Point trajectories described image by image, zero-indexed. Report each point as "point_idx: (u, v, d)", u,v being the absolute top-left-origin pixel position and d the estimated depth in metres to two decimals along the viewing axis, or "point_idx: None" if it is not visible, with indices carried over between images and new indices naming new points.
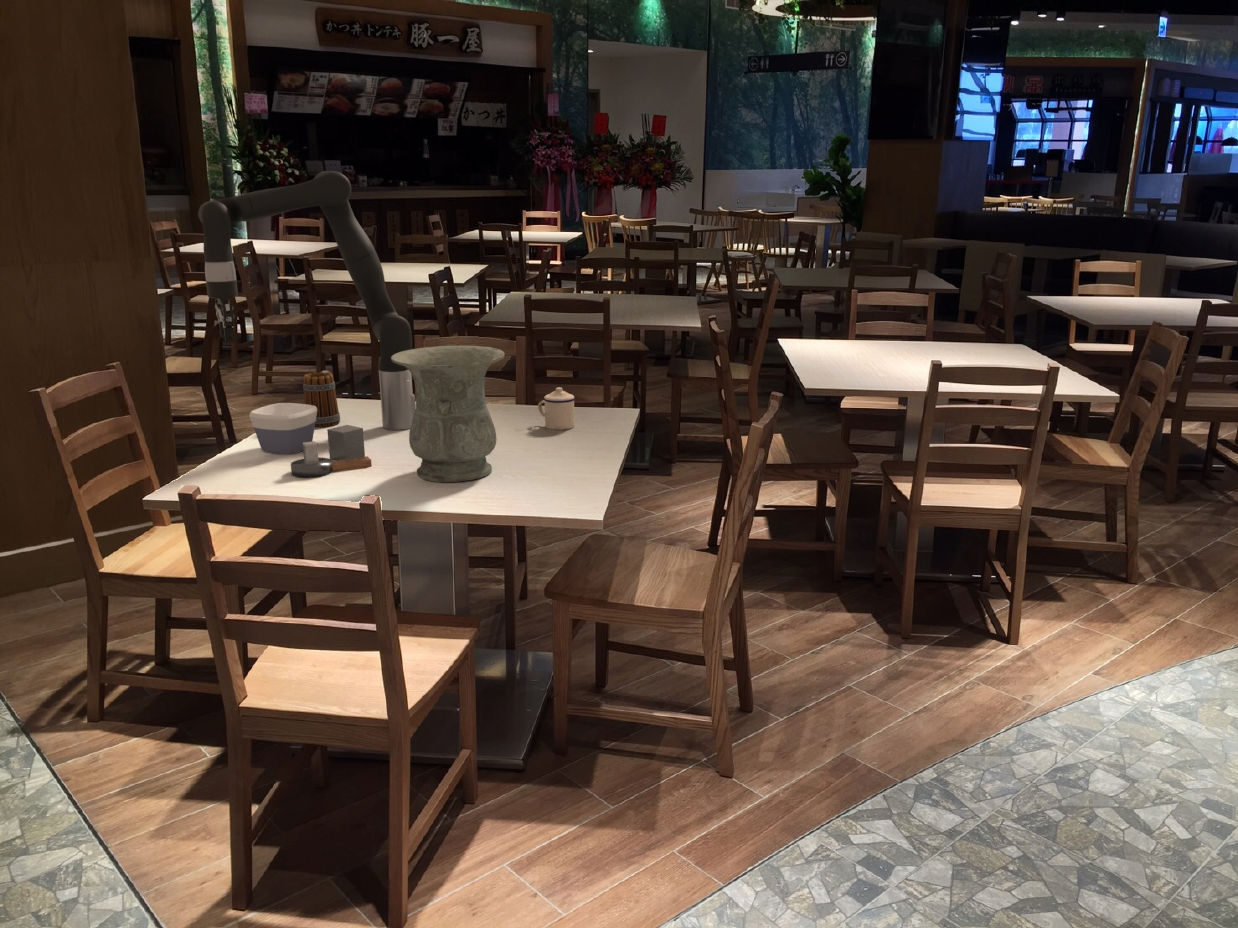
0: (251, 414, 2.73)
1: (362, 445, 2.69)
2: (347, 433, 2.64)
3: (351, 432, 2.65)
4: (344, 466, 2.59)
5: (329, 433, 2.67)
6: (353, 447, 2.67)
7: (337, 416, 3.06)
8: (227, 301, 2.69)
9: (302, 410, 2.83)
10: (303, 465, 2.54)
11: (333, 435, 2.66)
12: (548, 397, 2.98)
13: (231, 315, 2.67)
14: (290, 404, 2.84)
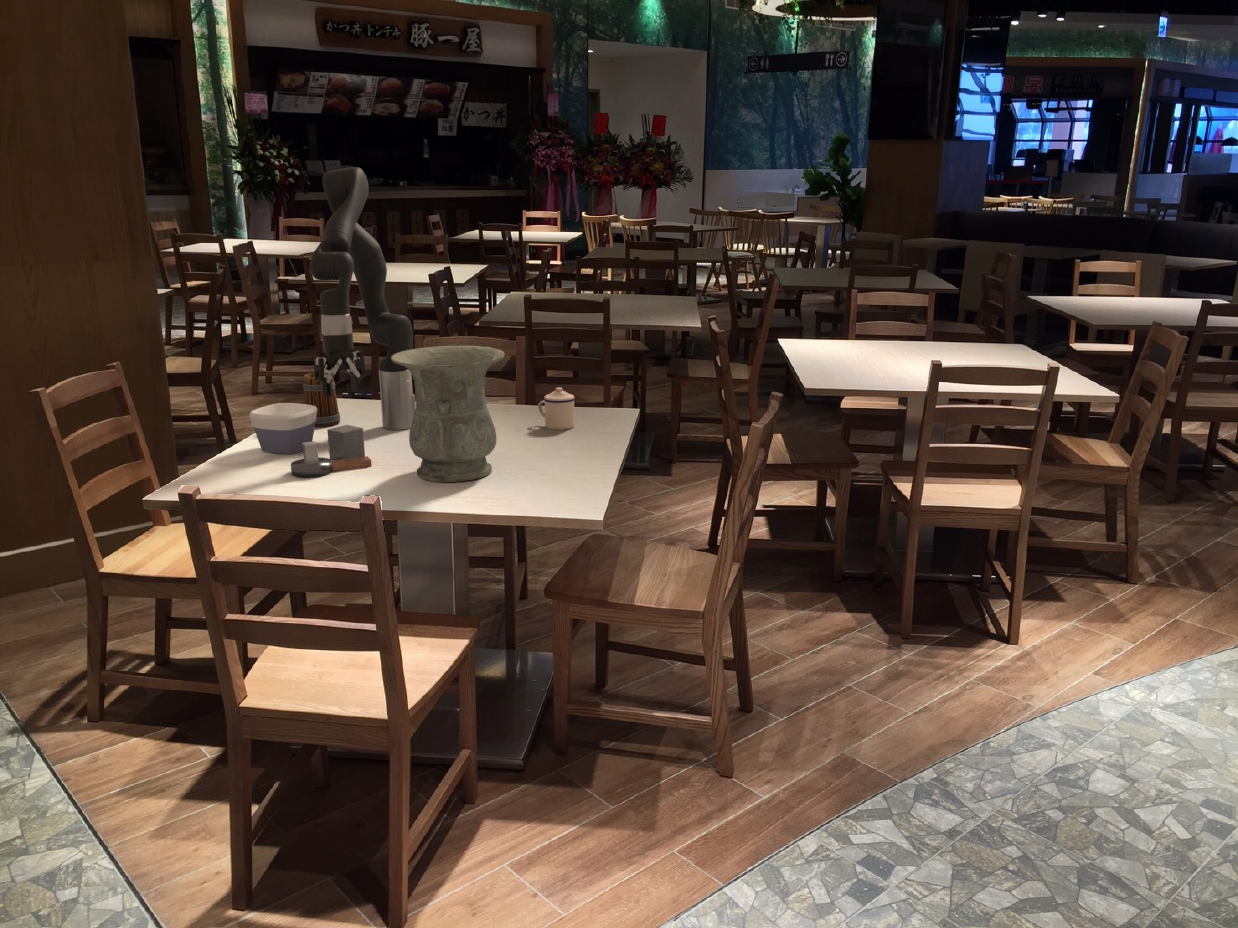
0: (251, 414, 2.73)
1: (362, 445, 2.69)
2: (347, 433, 2.64)
3: (351, 432, 2.65)
4: (344, 466, 2.59)
5: (329, 433, 2.67)
6: (353, 447, 2.67)
7: (337, 416, 3.06)
8: None
9: (302, 410, 2.83)
10: (303, 465, 2.54)
11: (333, 435, 2.66)
12: (548, 397, 2.98)
13: None
14: (290, 404, 2.84)
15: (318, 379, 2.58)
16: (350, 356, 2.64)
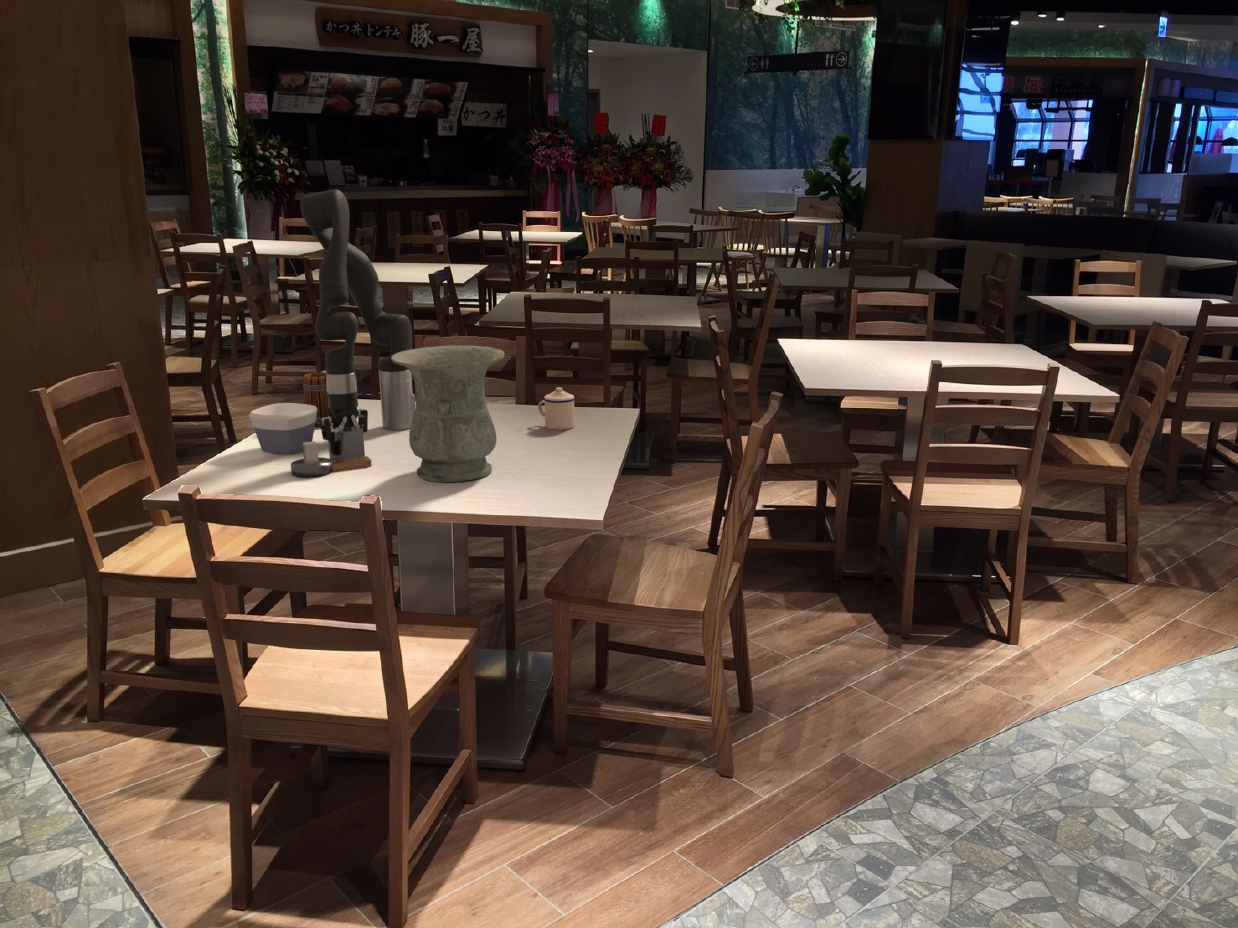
0: (251, 414, 2.73)
1: (362, 445, 2.69)
2: (347, 433, 2.64)
3: (351, 432, 2.65)
4: (344, 466, 2.59)
5: None
6: (353, 447, 2.67)
7: None
8: None
9: (302, 410, 2.83)
10: (303, 465, 2.54)
11: None
12: (548, 397, 2.98)
13: None
14: (290, 404, 2.84)
15: (326, 439, 2.63)
16: (355, 413, 2.68)
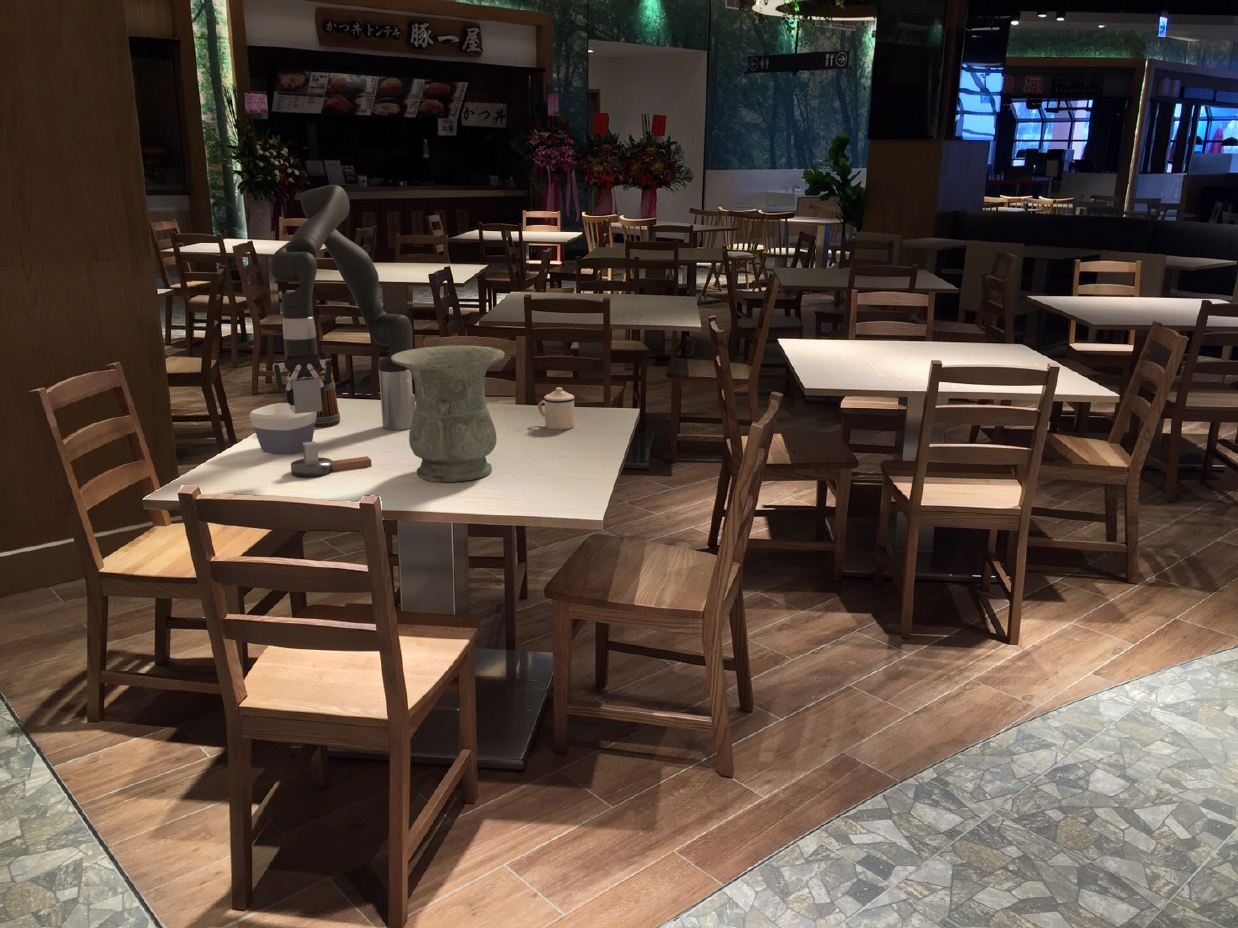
0: (251, 414, 2.73)
1: (318, 397, 2.50)
2: (298, 382, 2.47)
3: (303, 382, 2.48)
4: (344, 466, 2.59)
5: None
6: (306, 398, 2.49)
7: (337, 416, 3.06)
8: None
9: None
10: (303, 465, 2.54)
11: None
12: (548, 397, 2.98)
13: None
14: None
15: (277, 386, 2.48)
16: (314, 362, 2.50)
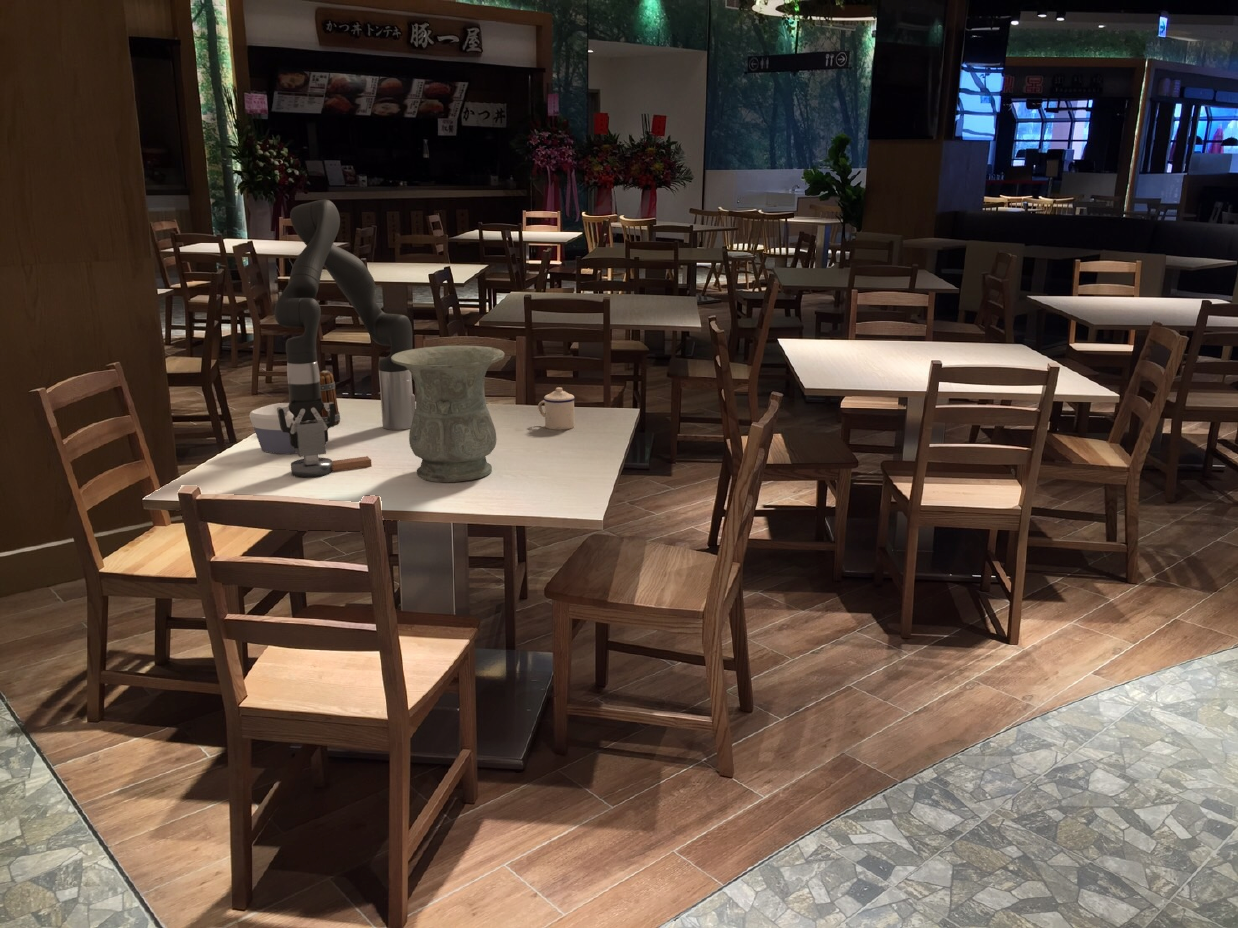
0: (251, 414, 2.73)
1: (322, 440, 2.53)
2: (302, 426, 2.50)
3: (308, 425, 2.51)
4: (344, 466, 2.59)
5: None
6: (310, 442, 2.52)
7: (337, 416, 3.06)
8: None
9: None
10: (303, 465, 2.54)
11: None
12: (548, 397, 2.98)
13: None
14: None
15: (282, 430, 2.51)
16: (318, 405, 2.53)
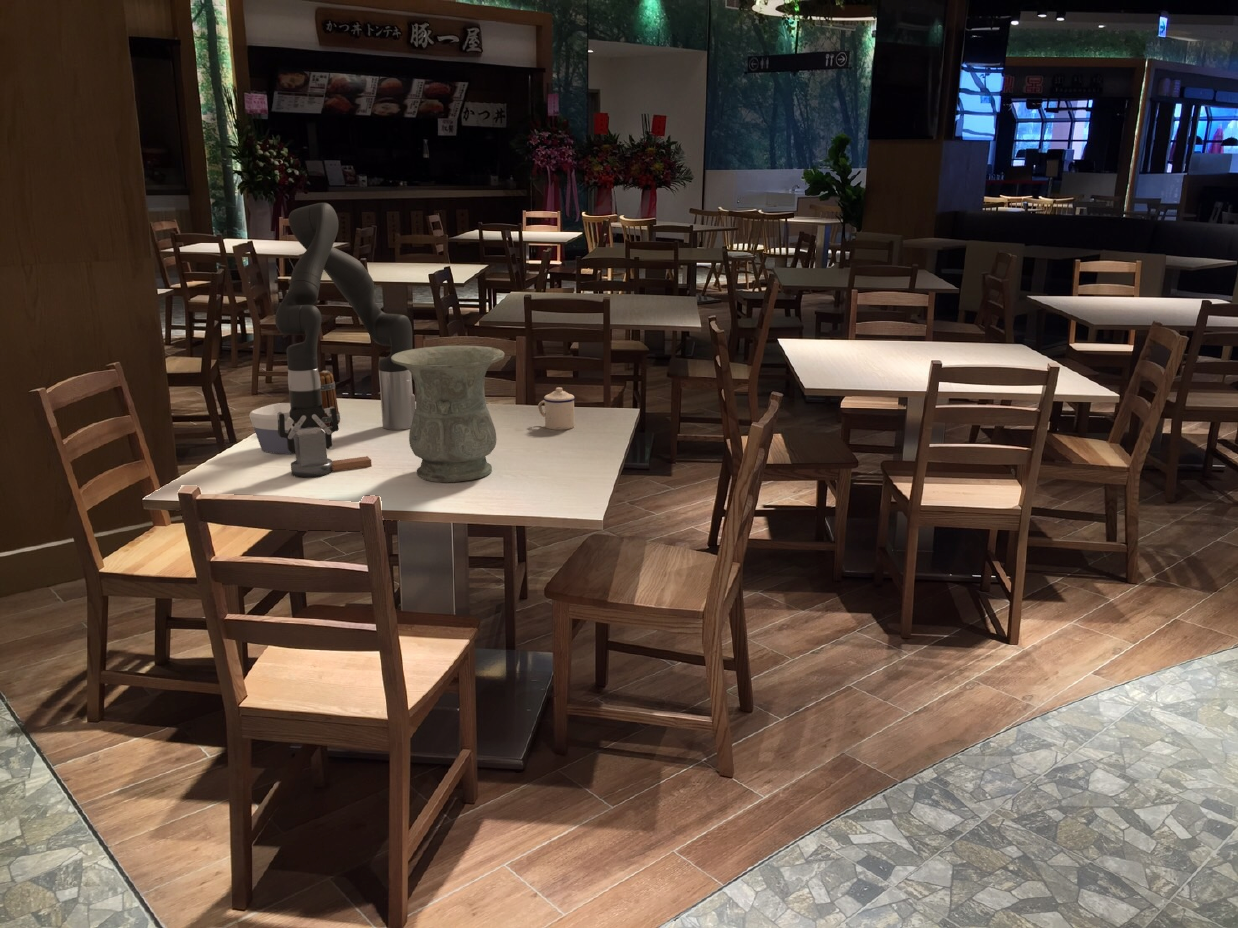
0: (251, 414, 2.73)
1: (324, 450, 2.54)
2: (304, 436, 2.51)
3: (309, 436, 2.51)
4: (344, 466, 2.59)
5: None
6: (312, 452, 2.53)
7: (337, 416, 3.06)
8: None
9: None
10: None
11: (295, 437, 2.54)
12: (548, 397, 2.98)
13: None
14: None
15: (279, 434, 2.51)
16: (319, 412, 2.53)
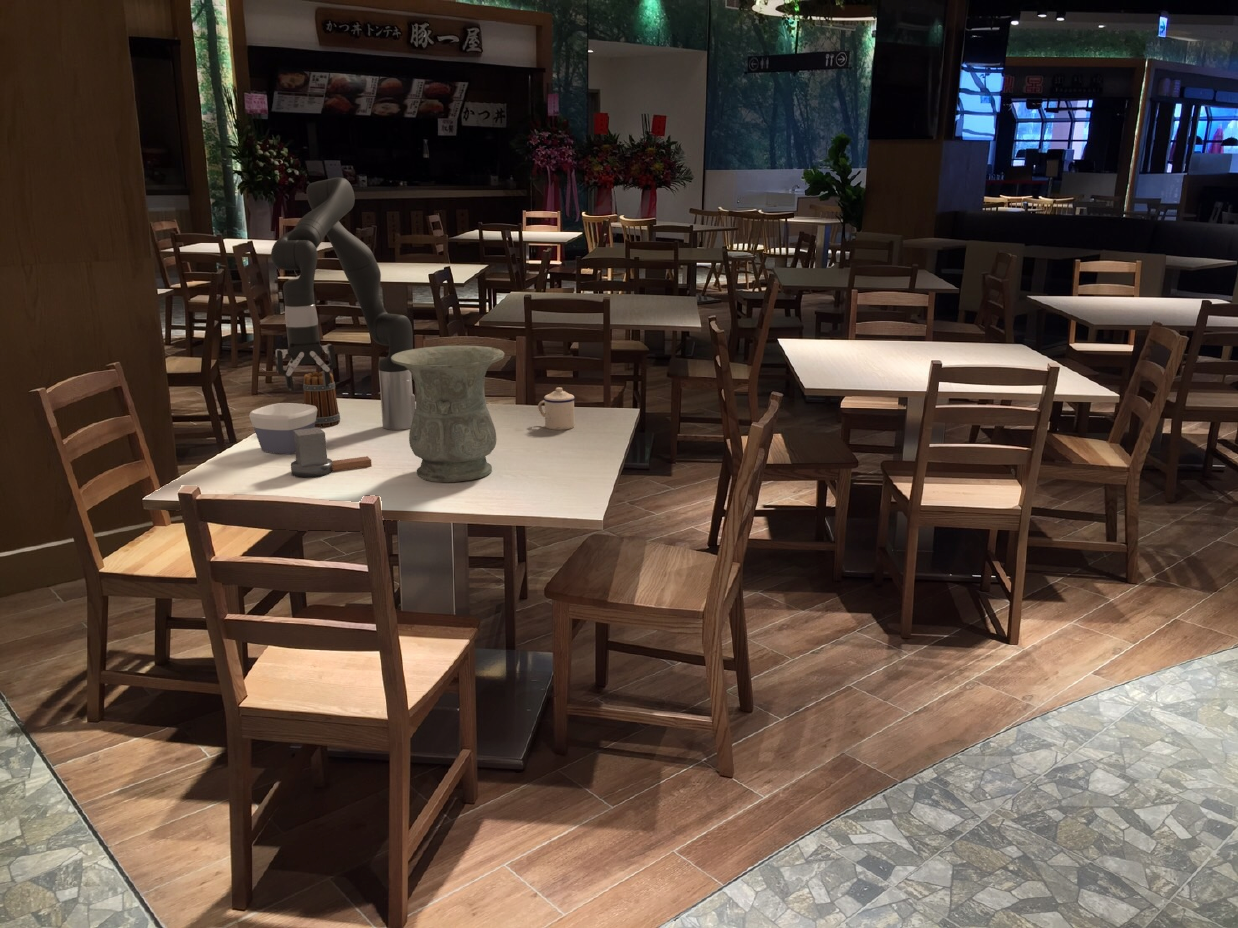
0: (251, 414, 2.73)
1: (324, 450, 2.54)
2: (304, 436, 2.51)
3: (309, 436, 2.51)
4: (344, 466, 2.59)
5: (294, 434, 2.55)
6: (312, 452, 2.53)
7: (337, 416, 3.06)
8: None
9: (302, 410, 2.83)
10: None
11: (295, 437, 2.54)
12: (548, 397, 2.98)
13: None
14: (290, 404, 2.84)
15: (277, 372, 2.50)
16: (317, 349, 2.53)
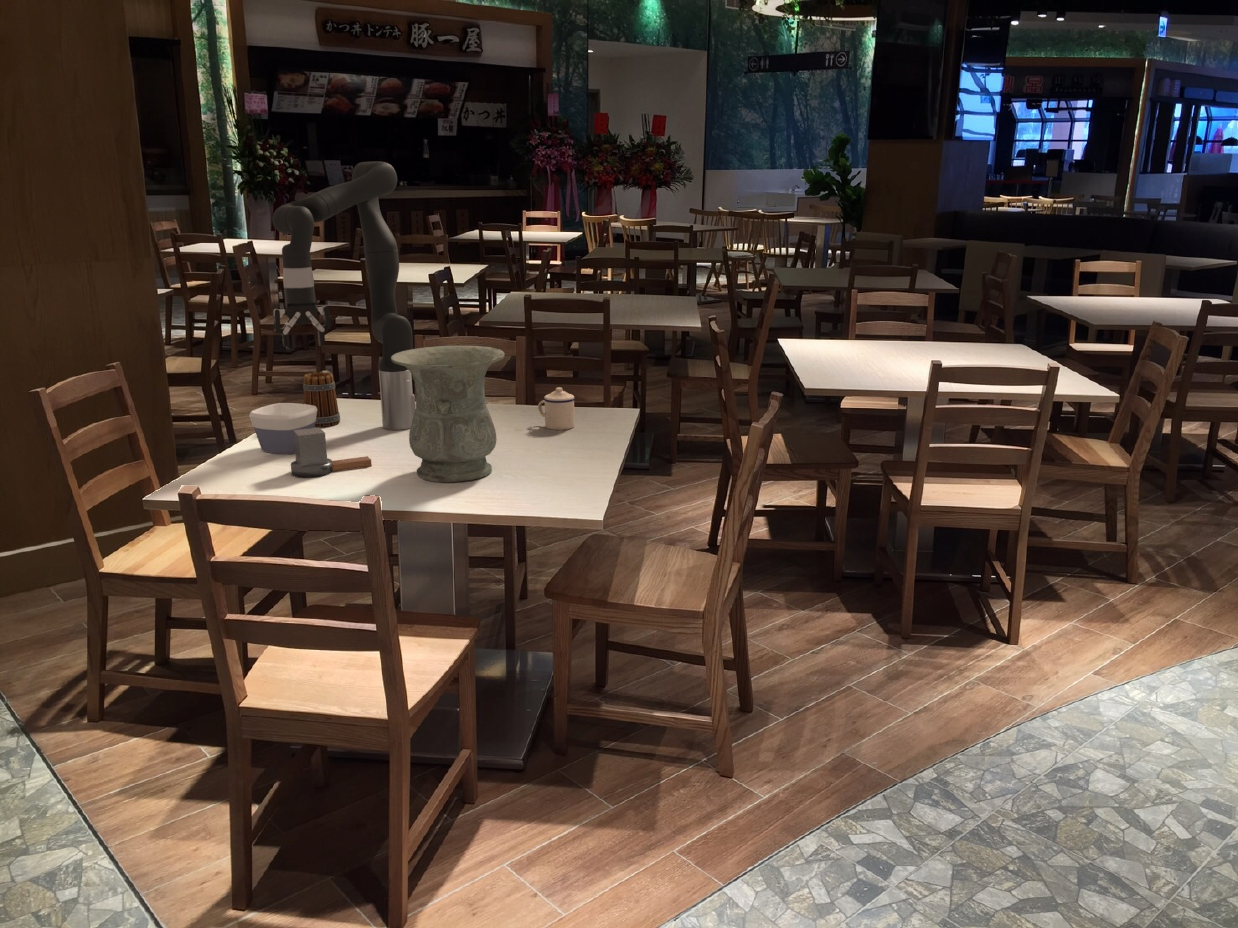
0: (251, 414, 2.73)
1: (324, 450, 2.54)
2: (304, 436, 2.51)
3: (309, 436, 2.51)
4: (344, 466, 2.59)
5: (294, 434, 2.55)
6: (312, 452, 2.53)
7: (337, 416, 3.06)
8: None
9: (302, 410, 2.83)
10: None
11: (295, 437, 2.54)
12: (548, 397, 2.98)
13: None
14: (290, 404, 2.84)
15: (275, 330, 2.66)
16: (312, 310, 2.68)
